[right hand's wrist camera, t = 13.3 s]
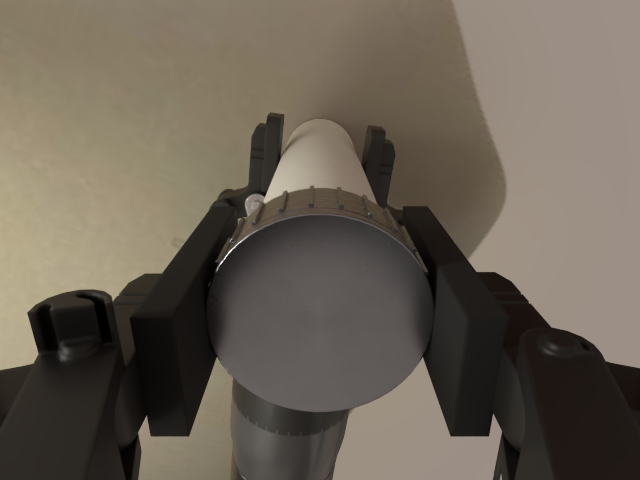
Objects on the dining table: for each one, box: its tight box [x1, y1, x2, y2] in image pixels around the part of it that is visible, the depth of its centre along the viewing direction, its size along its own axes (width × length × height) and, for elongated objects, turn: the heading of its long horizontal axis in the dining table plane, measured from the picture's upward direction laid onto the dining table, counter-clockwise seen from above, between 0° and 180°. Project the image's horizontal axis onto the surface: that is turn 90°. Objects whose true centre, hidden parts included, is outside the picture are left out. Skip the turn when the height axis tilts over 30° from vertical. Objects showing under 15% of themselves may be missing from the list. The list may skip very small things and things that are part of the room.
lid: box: [205, 186, 434, 412], centre depth 11 cm, size 5×5×2 cm
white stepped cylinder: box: [263, 119, 377, 204], centre depth 20 cm, size 4×4×20 cm
